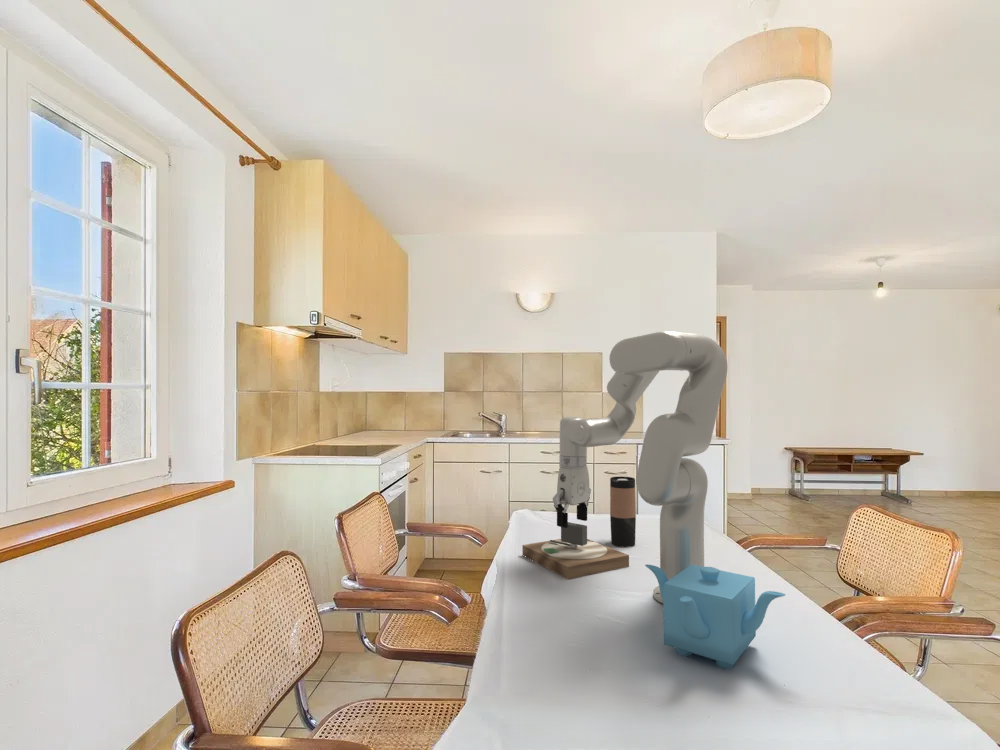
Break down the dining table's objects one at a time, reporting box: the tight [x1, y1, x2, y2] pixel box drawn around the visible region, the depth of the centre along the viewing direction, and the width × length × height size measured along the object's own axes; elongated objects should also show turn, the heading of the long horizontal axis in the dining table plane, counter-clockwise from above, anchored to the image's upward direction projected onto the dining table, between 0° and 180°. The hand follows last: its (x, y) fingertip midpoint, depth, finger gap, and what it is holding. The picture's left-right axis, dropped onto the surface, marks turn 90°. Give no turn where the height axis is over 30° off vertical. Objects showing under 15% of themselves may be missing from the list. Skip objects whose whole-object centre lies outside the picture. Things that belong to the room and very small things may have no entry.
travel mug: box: [609, 476, 637, 548], centre depth 167 cm, size 8×8×20 cm
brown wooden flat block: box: [522, 538, 630, 580], centre depth 150 cm, size 22×20×4 cm
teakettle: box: [644, 564, 786, 670], centre depth 99 cm, size 19×19×15 cm
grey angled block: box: [549, 521, 588, 548], centre depth 152 cm, size 12×2×6 cm, turn 49°
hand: (572, 523), depth 151 cm, fingers open, 9 cm apart
